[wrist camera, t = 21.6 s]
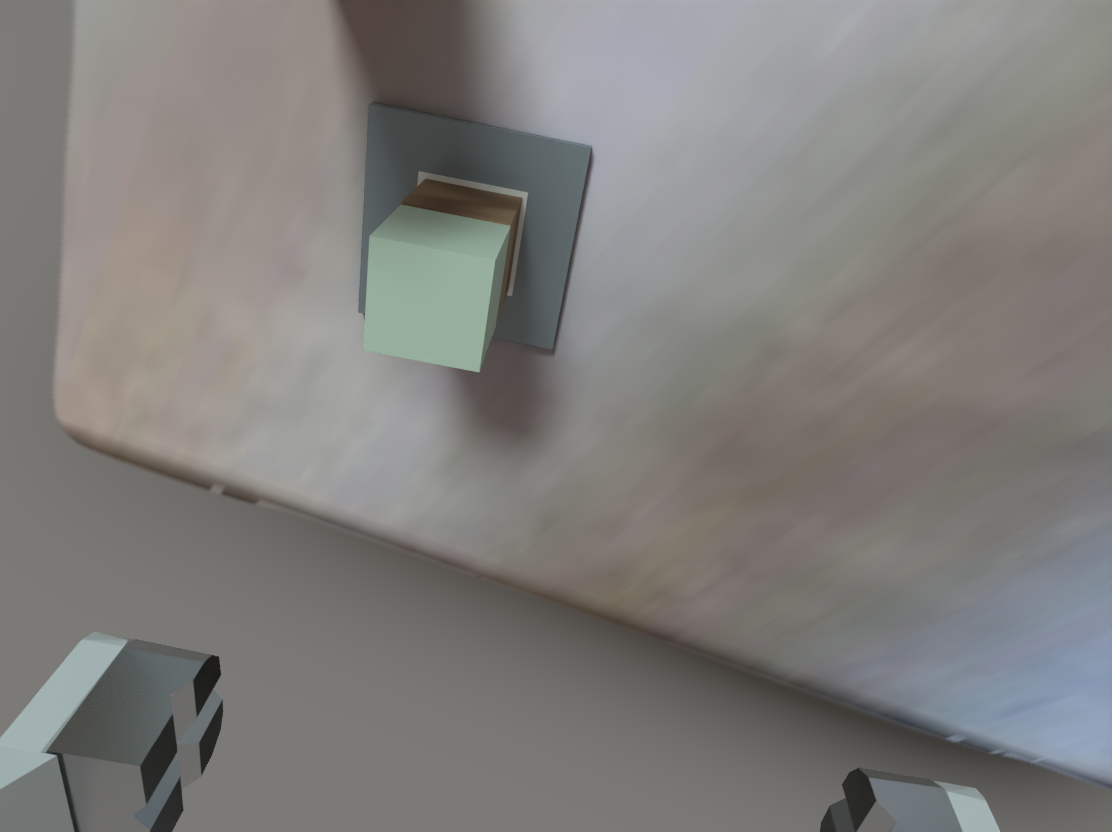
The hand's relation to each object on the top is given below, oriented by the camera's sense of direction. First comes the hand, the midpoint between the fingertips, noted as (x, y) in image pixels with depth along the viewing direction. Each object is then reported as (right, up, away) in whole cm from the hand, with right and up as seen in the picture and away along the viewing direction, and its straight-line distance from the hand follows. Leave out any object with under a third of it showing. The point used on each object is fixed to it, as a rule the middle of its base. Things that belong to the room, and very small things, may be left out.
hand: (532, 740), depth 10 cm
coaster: (-4, +14, +31) cm, 34 cm away
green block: (-5, +11, +26) cm, 28 cm away
